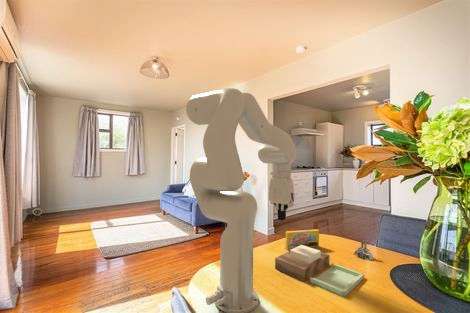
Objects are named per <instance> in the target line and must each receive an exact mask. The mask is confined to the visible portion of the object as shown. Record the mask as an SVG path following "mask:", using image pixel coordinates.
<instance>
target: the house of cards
mask: <svg viewBox="0 0 470 313" xmlns="http://www.w3.org/2000/svg"><path fill="white" fill-rule="evenodd" d="M360 244H361V246H359V247H358V248H357V250H355V251H354V252H353V255H356V256H357V258H360V259H365V260H367V261H373V260H375V259H376V257H375V256H374V255H373V253H372V252H371V250H370V248H369V249H368V248H367V245H368V243H367V241H366V240H365V239H363V240H362V242H361V243H360Z"/></svg>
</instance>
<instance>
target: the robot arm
mask: <svg viewBox="0 0 470 313" xmlns="http://www.w3.org/2000/svg"><path fill="white" fill-rule="evenodd" d="M185 113H186V115H187V117H188V119H189V120H190V122H191V123H193V124H195V125H197V126H202V125H203V126H205V125H206V126H207V127H206V129H205V132H204V135H203V138H202V145H203V146H202V147H203V153H204V156H205V157H200V158H198V159H197V158H196V159H195V160H194V161H193V163H192V164H191V167H190V169H189V183H190V185H191V188H192V191H193V193H194V196H195V200H196V201H197V204H198V207H199V210H200V212H201V214H202V215H203V216H204V217H205V218H207V219H209V220H212V221H218V222H223V223H226V227H225V229H224V230H223V232H222V233H221V235H220V236H221V237H220V242H219V244H220V245H219V246H220V247H219V248H220V250H219V253H220V254H219V256H220V261H219V263H220V264H219V266H220V267H219V268H220V269H219V271H220V273H219V275H220V279H219V284H220V285H217V287H216V291H215V292H214V293H213V294H211V295H209V296H207V297H206V298H205V303H206V305H207V306H211V305H213V304H215V306H216V307H217V308H218V309H219V310H221V311H222V312H224V313H250V312H252V311H253V310H254V309H256V308H257V306H258V304H259V295H258V292H257V291H255V289H254V231H255V222H256V216H257V210H258V203H257V199H256V198H255V197H254V195H253V194H251V193H250V192H248V191H245V190H244V191H243V190H240V189H241V188H242V186H243V185H244V182H245V181H244V180H245V178H244V171H243V168H242V162H241V159H240V156H239V152H238V147H237V142H236V132H237V130H238V129H237V128H238V125H239V127H241V129H242V130H243V132H244V133H245V134H246V136H247V137H248V138H249V140H252V141H253V142H255V143H259V144H263V145H262V146H260V147H259V149H258V151H257V156H258V159H259V161H261V162H262V163H264V164H271V166H272V168H271V171H270V175H271V178H270V180H269V186H268V201H269V202H270V204H272V205H274V207H275V209H276V211H277V220H278V221H285V220H286V219H287V210H288V208H293V207H294V206H295V205H294V202H295V187H294V182H293V179H292V171H291V170H292V164H293V163H294V162H295V160H296V159H297V149H296V146H295V143H294V140H292V137H291V136H290V135H289V134H288V133H287V132H286V131H284V130H283V129H281V128H279V127H278V126H275V125H274V124H272V123H270V122H269V120H268V118H267V117H266V115H265V114H264V111H263V110H262V108H261V106H260V105H259V102H258V101H257V99H256V98H255V96H254V95H253V94H251V93H249V92H242V91H241V90H239V89H237V88H232V87H231V88H221V89H217V90H212V91H207V92H204V93H199V94H195V95H192V96H191V97H190V98H189V99H188V100H187V101H186V105H185Z"/></svg>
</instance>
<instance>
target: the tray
mask: <svg viewBox="0 0 470 313" xmlns="http://www.w3.org/2000/svg"><path fill="white" fill-rule="evenodd" d="M330 265H331V266H330V267H329V268H328V269H326V270H325V271H323V272H321V273H320V274H318V275H317V276H316V277H314V276H312V277H310V278H309V283H310V284H312V285H315V286H317V287H319V288H321V289H324V290H326V291H328V292H330V293H333V294H335V295H337V296H338V297H339V296H340V297H342V298H346V296H347V295H349V294H350V293H351V292H352V291H353V289H355V288H356V286H358V285H359V283H360V282H362V281H363V279H365V274H364V273H361V272H359V271H356V270H352V269H350V268H347V267H345V266H341V265H339V264H335V263H330ZM351 274H352V275H351ZM361 280H362V281H361Z"/></svg>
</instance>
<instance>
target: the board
mask: <svg viewBox="0 0 470 313" xmlns="http://www.w3.org/2000/svg"><path fill="white" fill-rule="evenodd" d="M274 260H275V261H274V264H275V265H274V268H275V270H277V271H279V272H281V273H283V274H286V275H288V276H291V277H293V278H295V279H297V280H300V281H302V282H303V283H305V282H306V281H308V280H310V277H314V276H316V275H317V274H318V273H320V272H322V270H324V269H325V268H327V267H328V266H330V265H331V263H330V260H331V259H330V254H328V253H326V252H322V251H321V258H319V259H317V260H316V261H314V262H312V263H310V264H308V263H305V262H303V261H300V260H297V259H295V258H292V257H290V250H288V252H287V251H286V253H283V254H281V255H279V256H277V257H275V258H274Z"/></svg>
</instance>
